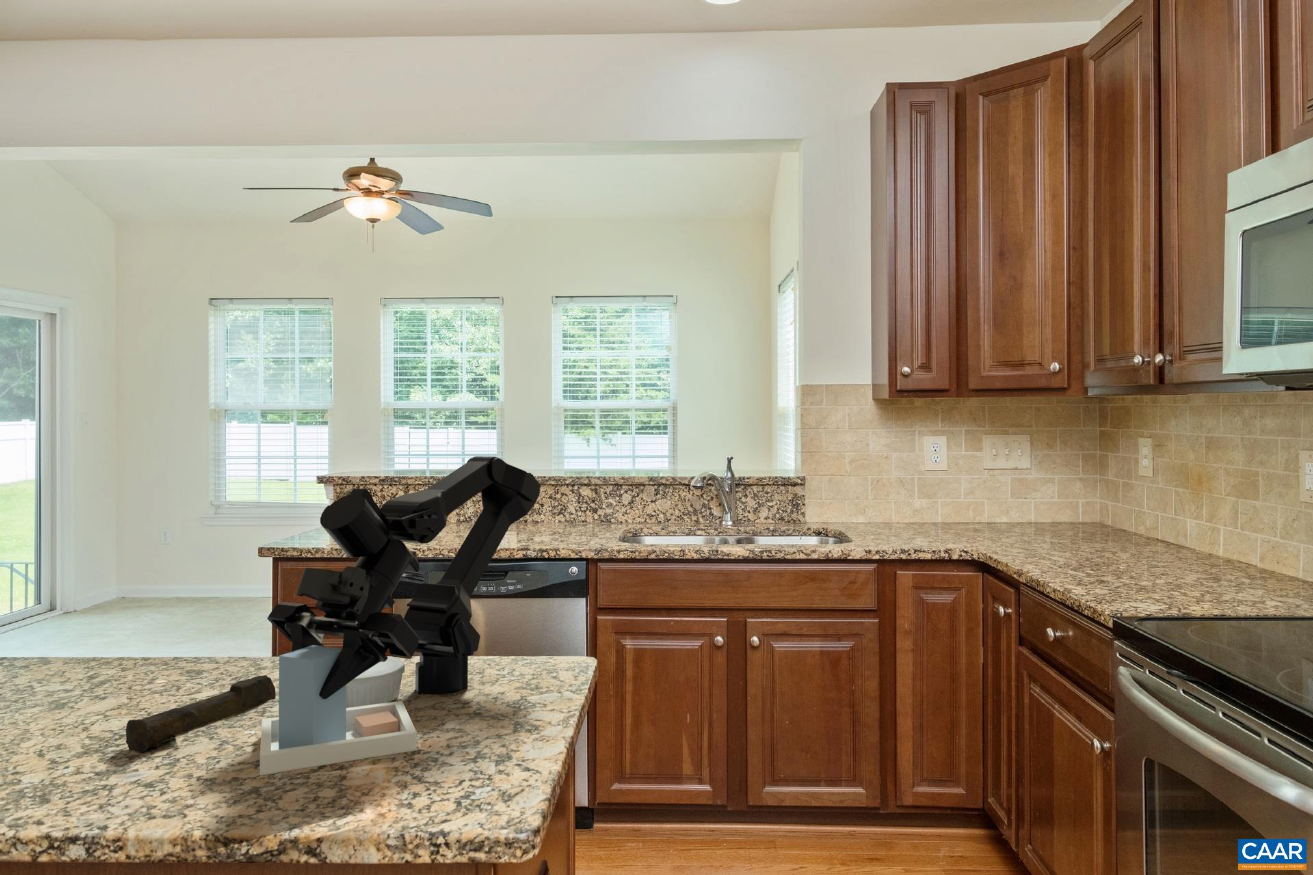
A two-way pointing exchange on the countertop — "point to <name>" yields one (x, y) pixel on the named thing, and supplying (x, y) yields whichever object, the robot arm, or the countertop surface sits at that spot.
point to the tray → (338, 742)
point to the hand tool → (198, 713)
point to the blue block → (309, 699)
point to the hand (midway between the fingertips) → (303, 694)
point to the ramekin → (376, 684)
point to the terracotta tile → (376, 724)
